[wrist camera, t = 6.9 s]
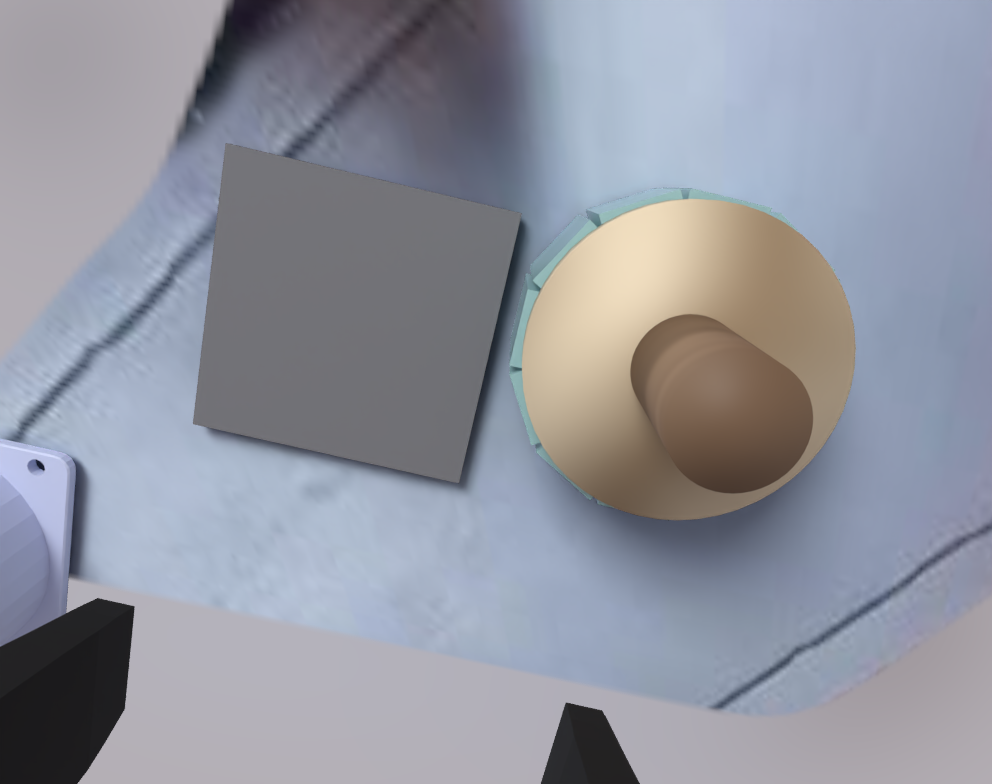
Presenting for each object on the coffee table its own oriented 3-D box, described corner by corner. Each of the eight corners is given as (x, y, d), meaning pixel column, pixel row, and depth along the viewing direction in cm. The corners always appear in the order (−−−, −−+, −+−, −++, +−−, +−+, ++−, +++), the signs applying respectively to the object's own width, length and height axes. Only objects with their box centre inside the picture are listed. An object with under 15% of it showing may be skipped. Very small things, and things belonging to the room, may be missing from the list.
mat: (198, 419, 22) (192, 424, 21) (231, 144, 19) (225, 143, 19) (459, 478, 22) (459, 483, 21) (521, 213, 20) (521, 213, 19)
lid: (488, 466, 18) (478, 561, 14) (570, 160, 16) (592, 151, 12) (773, 536, 19) (859, 653, 14) (891, 246, 16) (1037, 270, 12)
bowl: (486, 436, 21) (481, 478, 18) (552, 161, 19) (559, 156, 16) (745, 494, 22) (783, 546, 19) (839, 230, 19) (900, 239, 16)
